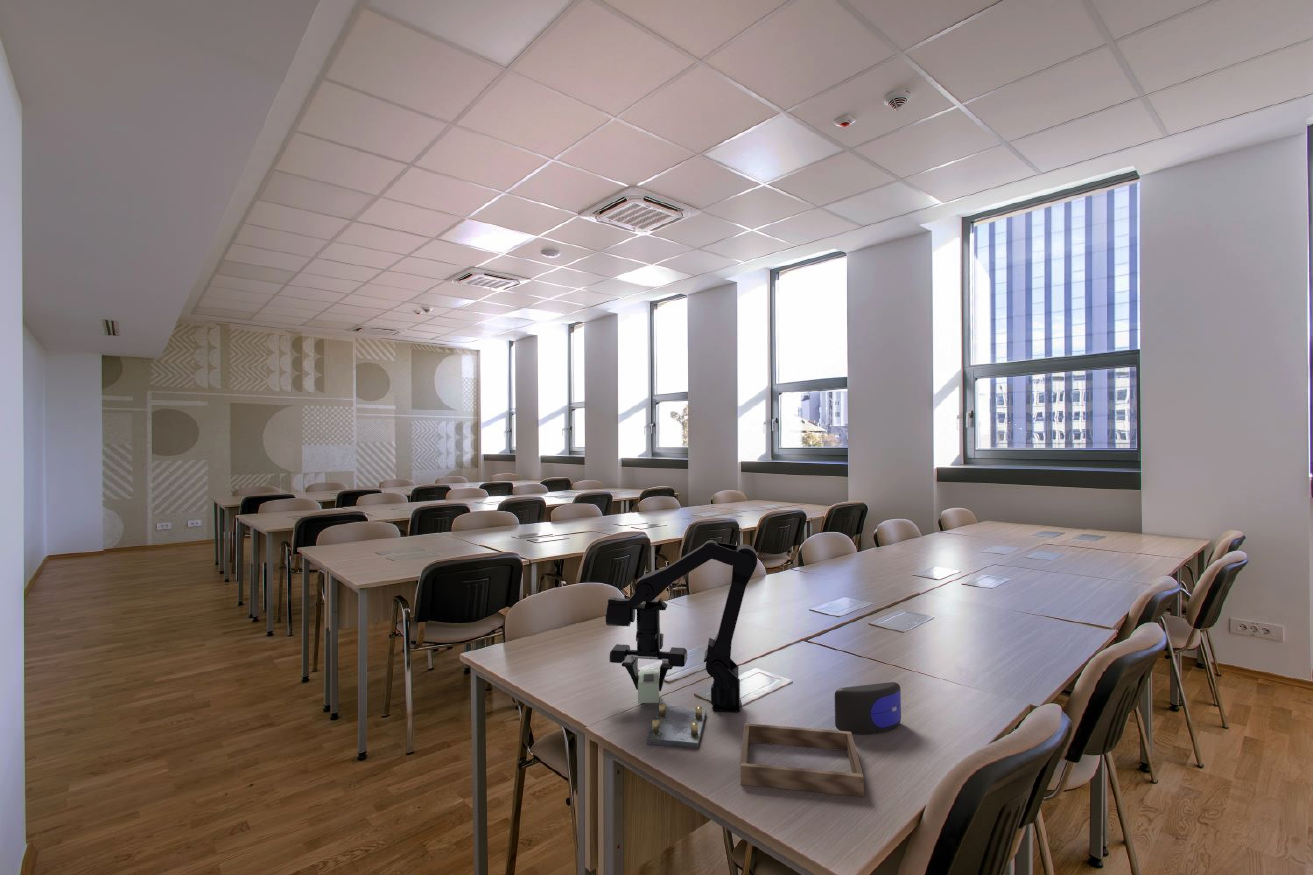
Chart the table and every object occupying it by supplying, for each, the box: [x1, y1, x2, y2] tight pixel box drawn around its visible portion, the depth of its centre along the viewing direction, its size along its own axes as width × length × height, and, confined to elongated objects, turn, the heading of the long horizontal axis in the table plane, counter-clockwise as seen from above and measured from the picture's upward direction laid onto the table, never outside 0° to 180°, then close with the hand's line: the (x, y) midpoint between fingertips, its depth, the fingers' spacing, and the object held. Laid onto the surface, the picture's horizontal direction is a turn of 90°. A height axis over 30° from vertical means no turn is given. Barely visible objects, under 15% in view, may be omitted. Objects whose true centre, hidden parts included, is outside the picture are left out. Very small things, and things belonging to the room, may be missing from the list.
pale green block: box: [637, 669, 660, 704], centre depth 146 cm, size 5×9×5 cm, turn 179°
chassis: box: [645, 703, 707, 749], centre depth 132 cm, size 11×16×3 cm
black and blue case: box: [834, 681, 902, 735], centre depth 131 cm, size 16×5×9 cm, turn 103°
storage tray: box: [740, 722, 865, 797], centre depth 116 cm, size 22×17×4 cm
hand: (649, 689), depth 146 cm, fingers closed on pale green block, 5 cm apart
